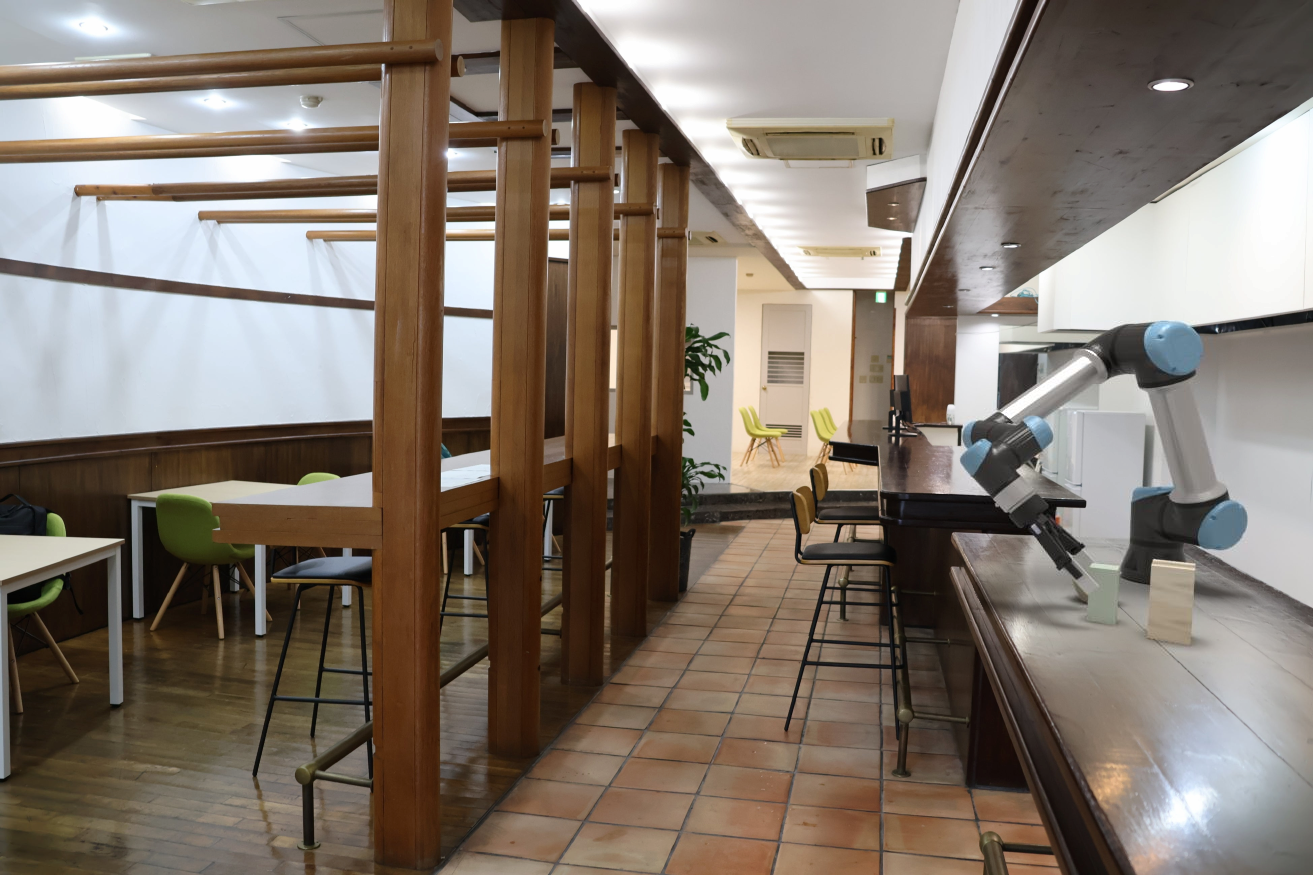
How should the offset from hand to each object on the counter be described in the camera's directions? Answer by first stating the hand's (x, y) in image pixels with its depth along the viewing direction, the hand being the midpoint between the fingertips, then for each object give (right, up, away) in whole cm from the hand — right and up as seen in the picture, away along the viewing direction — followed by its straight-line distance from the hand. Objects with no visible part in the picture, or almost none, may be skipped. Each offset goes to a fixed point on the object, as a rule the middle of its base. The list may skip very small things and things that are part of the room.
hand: (1097, 584), depth 179 cm
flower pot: (+7, -7, +16) cm, 18 cm away
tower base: (+8, -8, -11) cm, 16 cm away
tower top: (+8, -1, -12) cm, 14 cm away
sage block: (+1, -7, 0) cm, 7 cm away
